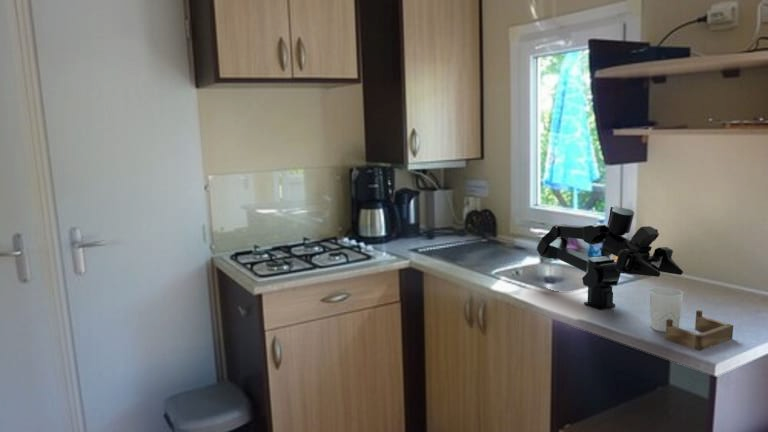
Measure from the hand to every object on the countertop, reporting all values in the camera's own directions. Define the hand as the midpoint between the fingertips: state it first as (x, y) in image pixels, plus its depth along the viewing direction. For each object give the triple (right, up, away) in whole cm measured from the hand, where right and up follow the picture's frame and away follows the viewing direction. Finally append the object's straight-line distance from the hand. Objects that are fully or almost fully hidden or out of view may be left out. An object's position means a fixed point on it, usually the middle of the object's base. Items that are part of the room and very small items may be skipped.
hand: (671, 274), depth 151 cm
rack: (+5, -16, -4) cm, 17 cm away
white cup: (0, -15, +4) cm, 15 cm away
